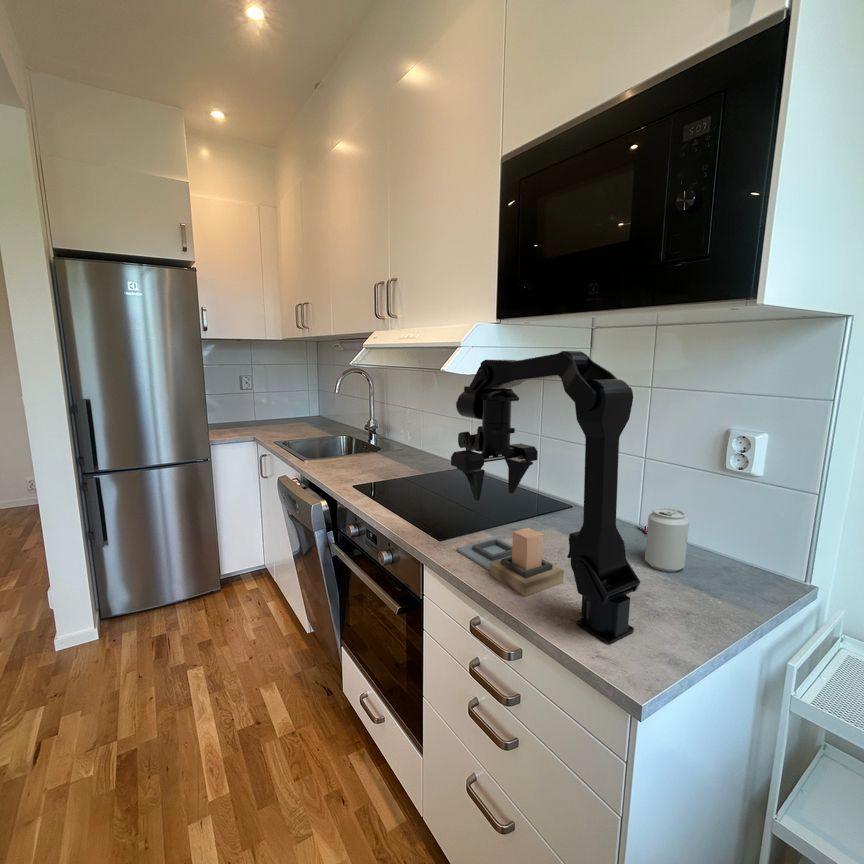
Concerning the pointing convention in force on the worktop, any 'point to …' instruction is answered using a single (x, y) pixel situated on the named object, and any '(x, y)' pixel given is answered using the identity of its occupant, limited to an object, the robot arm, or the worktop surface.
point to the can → (666, 539)
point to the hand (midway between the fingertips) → (494, 496)
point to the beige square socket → (526, 576)
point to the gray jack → (487, 551)
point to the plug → (527, 548)
